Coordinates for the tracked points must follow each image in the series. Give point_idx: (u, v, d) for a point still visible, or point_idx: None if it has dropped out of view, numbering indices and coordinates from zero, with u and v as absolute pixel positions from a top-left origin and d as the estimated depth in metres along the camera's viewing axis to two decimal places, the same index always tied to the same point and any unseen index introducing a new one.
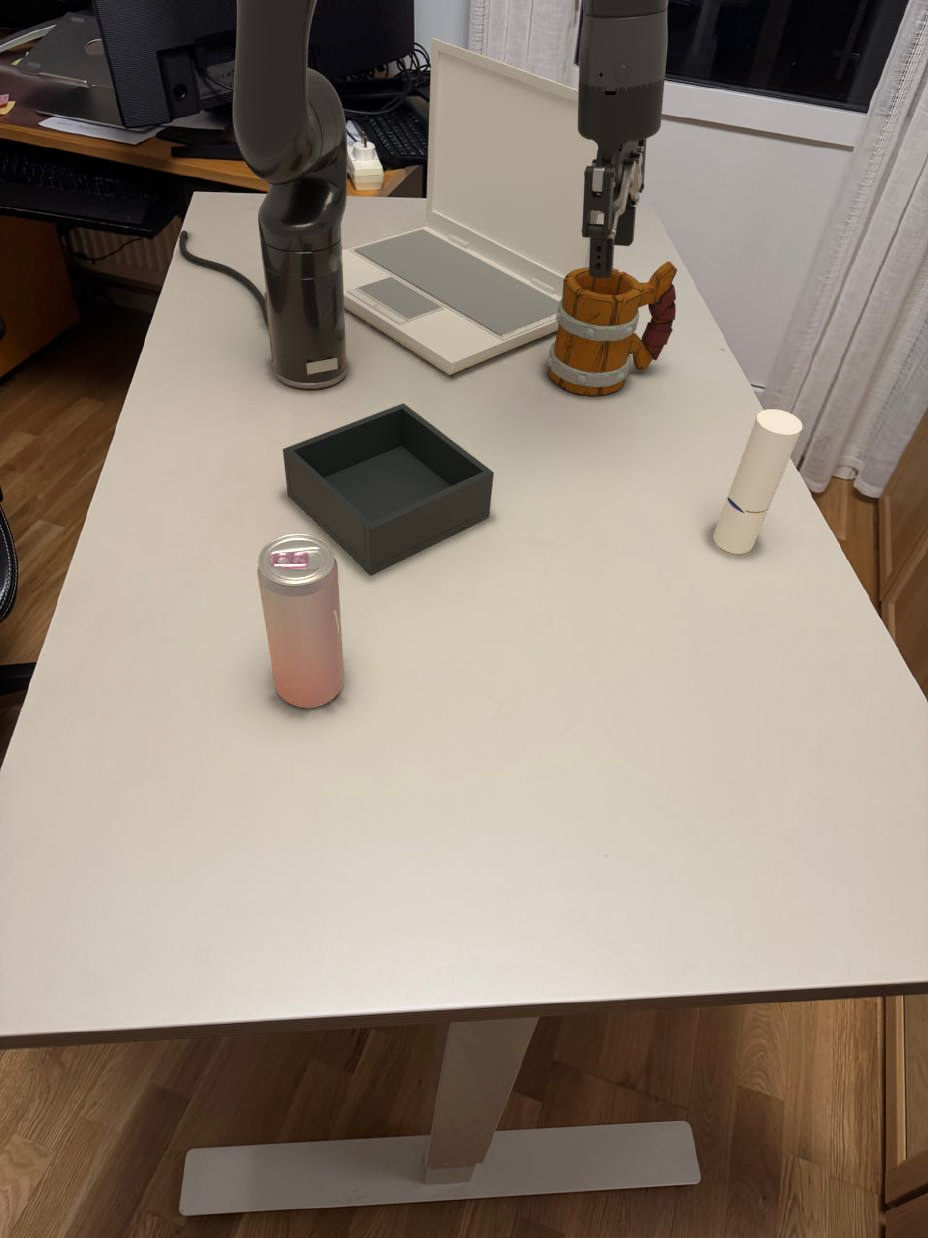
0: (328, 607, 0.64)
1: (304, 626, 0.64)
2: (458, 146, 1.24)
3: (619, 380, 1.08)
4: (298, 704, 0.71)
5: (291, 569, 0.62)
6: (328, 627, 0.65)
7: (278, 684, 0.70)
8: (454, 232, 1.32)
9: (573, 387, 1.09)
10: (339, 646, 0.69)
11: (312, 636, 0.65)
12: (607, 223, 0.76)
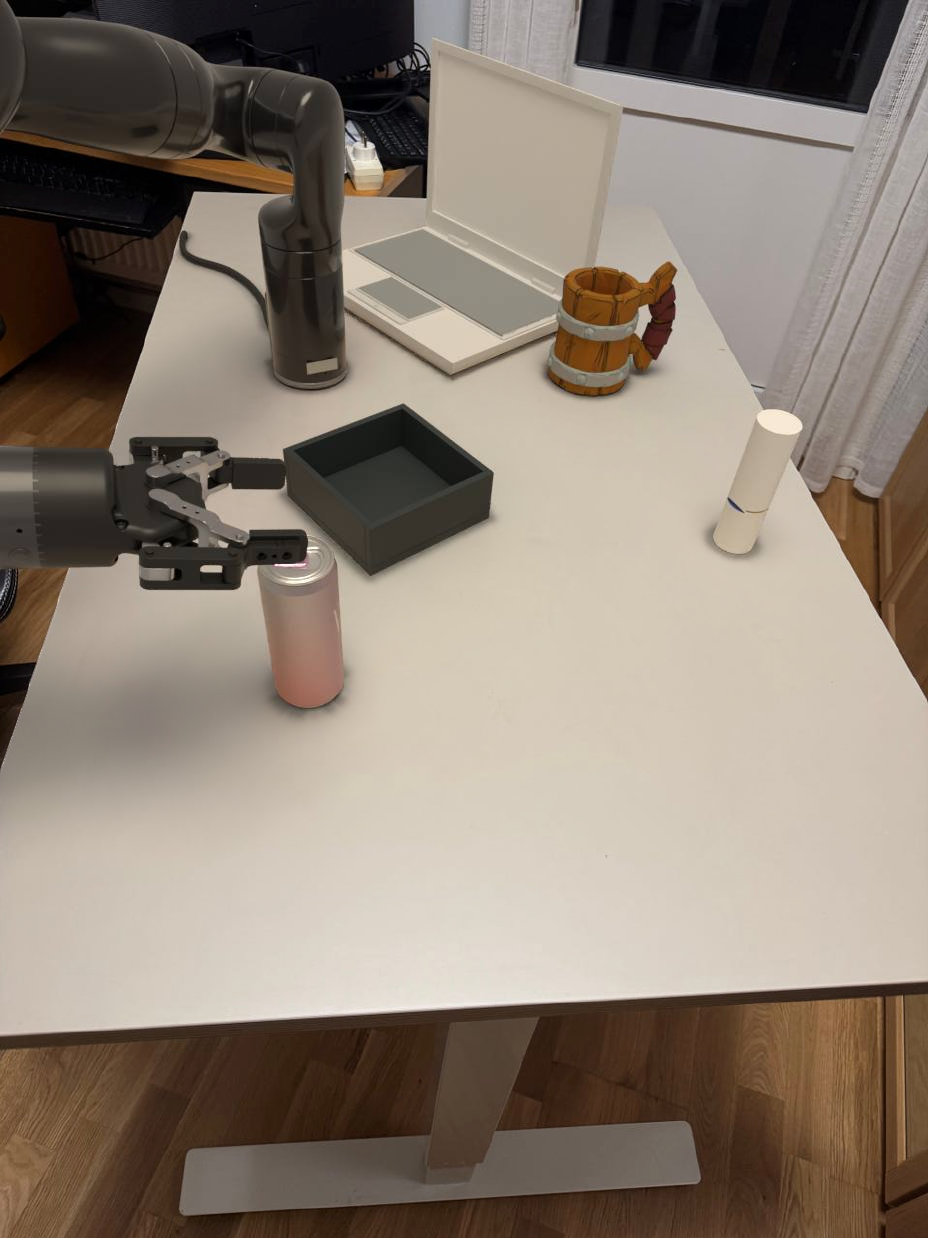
0: (328, 607, 0.64)
1: (303, 626, 0.64)
2: (458, 146, 1.24)
3: (619, 380, 1.08)
4: (298, 704, 0.71)
5: (291, 569, 0.62)
6: (328, 627, 0.65)
7: (278, 684, 0.70)
8: (454, 232, 1.32)
9: (573, 387, 1.09)
10: (339, 646, 0.69)
11: (312, 636, 0.65)
12: None
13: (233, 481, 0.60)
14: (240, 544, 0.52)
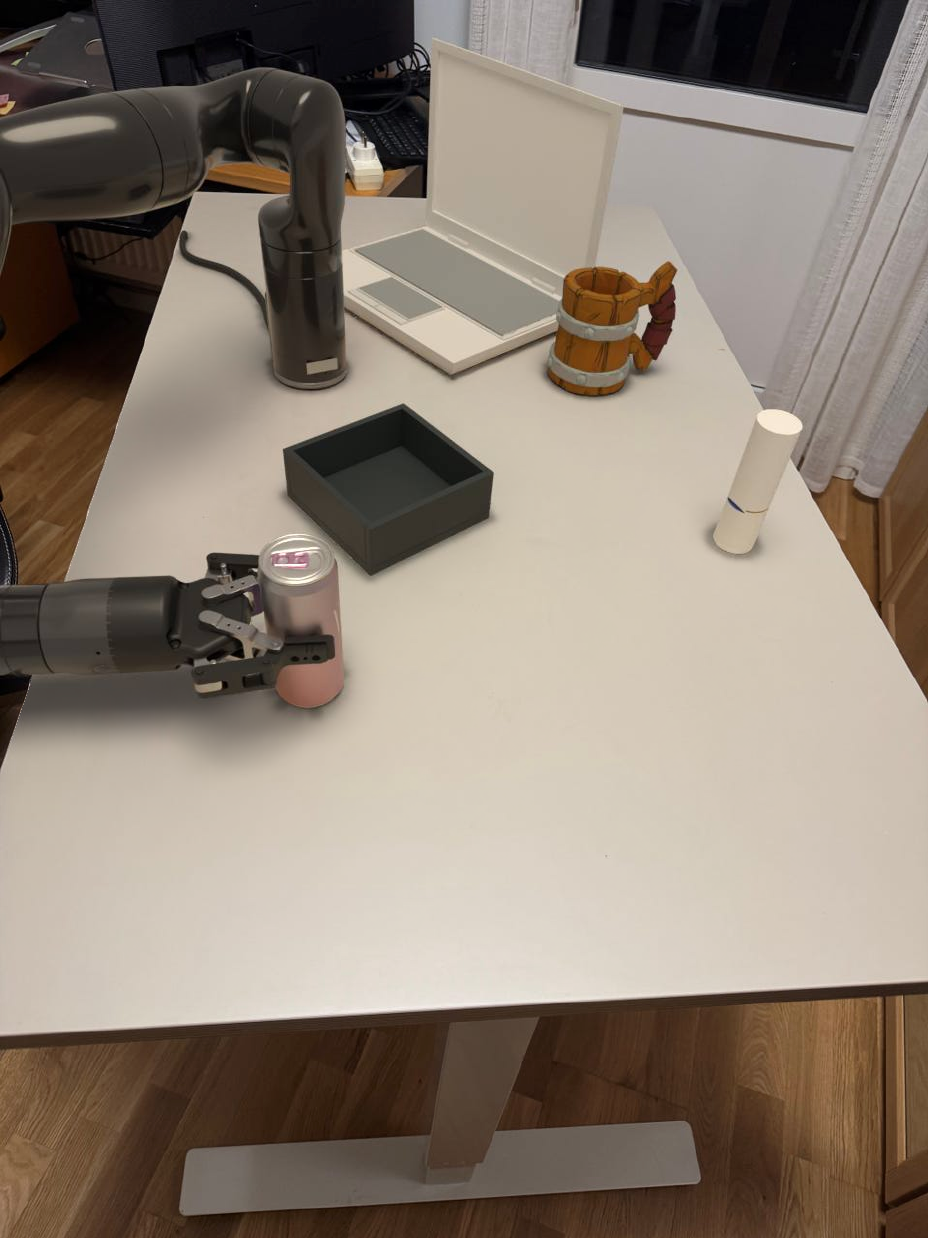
0: (329, 607, 0.64)
1: (304, 626, 0.64)
2: (458, 146, 1.24)
3: (619, 380, 1.08)
4: (298, 704, 0.71)
5: (291, 569, 0.62)
6: (329, 627, 0.65)
7: (278, 684, 0.70)
8: (454, 232, 1.32)
9: (573, 387, 1.09)
10: (339, 646, 0.69)
11: None
12: None
13: None
14: (276, 651, 0.64)
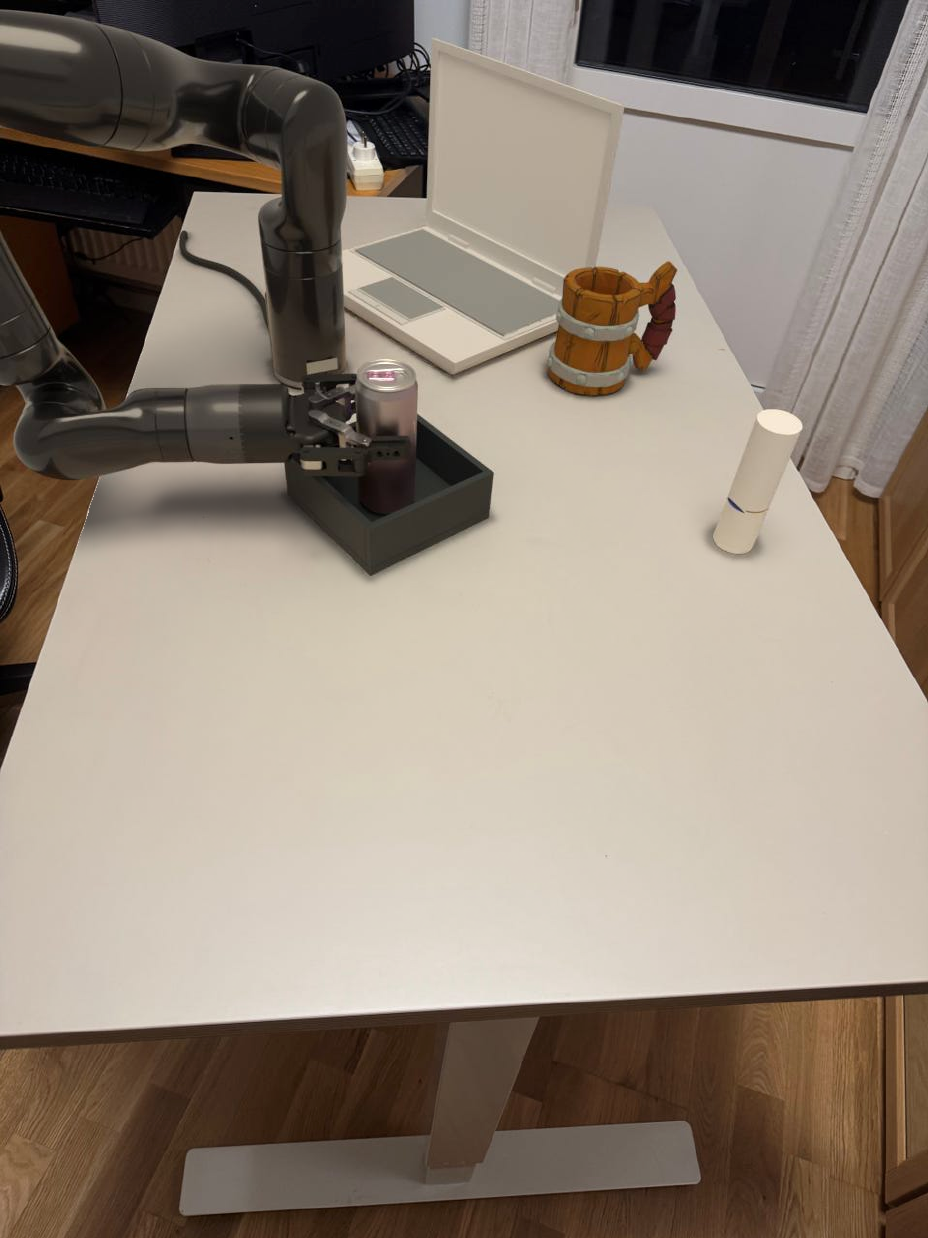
0: (410, 416, 0.81)
1: (391, 430, 0.81)
2: (458, 146, 1.24)
3: (619, 380, 1.08)
4: (379, 509, 0.87)
5: (383, 381, 0.79)
6: (409, 435, 0.82)
7: (363, 492, 0.87)
8: (454, 232, 1.32)
9: (573, 387, 1.09)
10: (414, 458, 0.85)
11: None
12: None
13: None
14: (364, 445, 0.79)
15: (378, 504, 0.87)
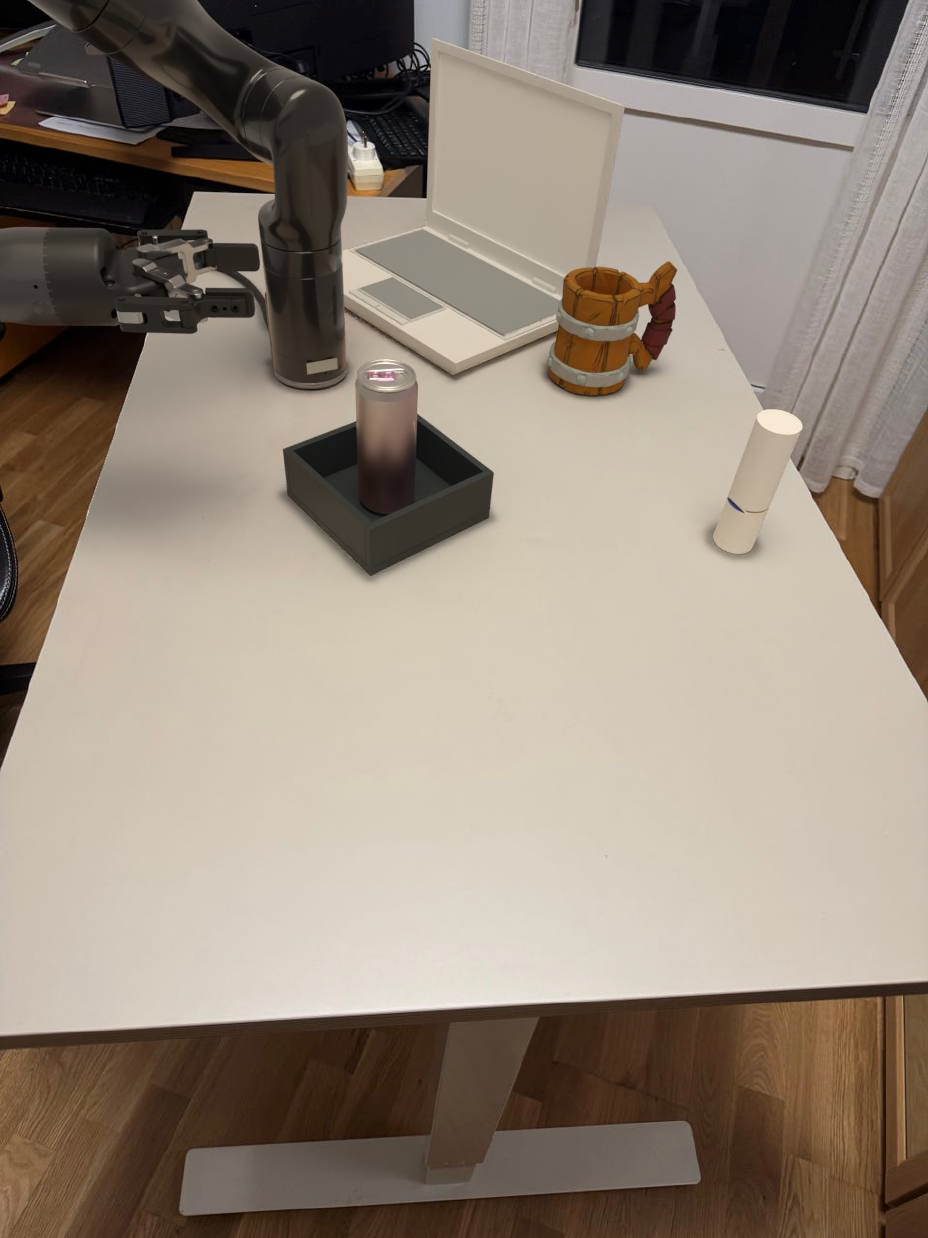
0: (410, 416, 0.81)
1: (391, 431, 0.80)
2: (458, 146, 1.24)
3: (619, 380, 1.08)
4: (379, 509, 0.87)
5: (383, 381, 0.79)
6: (409, 435, 0.82)
7: (363, 492, 0.87)
8: (454, 232, 1.32)
9: (573, 387, 1.09)
10: (414, 458, 0.85)
11: (396, 441, 0.82)
12: None
13: (217, 263, 0.74)
14: (195, 297, 0.67)
15: (378, 504, 0.87)
